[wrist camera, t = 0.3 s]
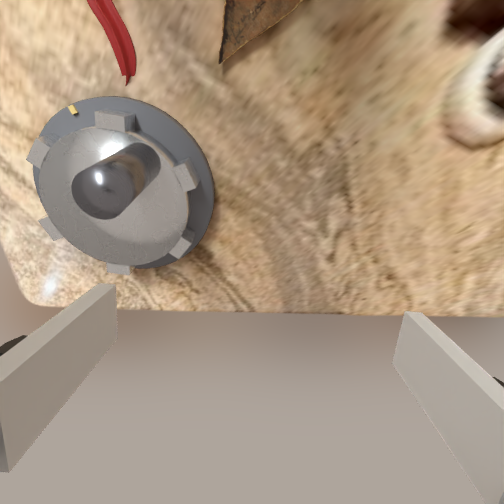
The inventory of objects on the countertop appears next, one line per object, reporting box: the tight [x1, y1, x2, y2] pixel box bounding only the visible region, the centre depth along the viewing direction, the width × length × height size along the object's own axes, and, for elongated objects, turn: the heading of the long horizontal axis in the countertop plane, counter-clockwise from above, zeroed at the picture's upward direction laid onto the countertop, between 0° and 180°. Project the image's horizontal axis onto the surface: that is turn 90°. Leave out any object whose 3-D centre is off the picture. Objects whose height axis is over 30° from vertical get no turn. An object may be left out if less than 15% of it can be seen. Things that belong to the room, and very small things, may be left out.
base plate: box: [33, 96, 215, 269], centre depth 38 cm, size 21×21×2 cm
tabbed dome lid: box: [26, 109, 200, 275], centre depth 31 cm, size 18×19×13 cm
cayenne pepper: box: [87, 0, 136, 85], centre depth 30 cm, size 12×5×2 cm, turn 172°
